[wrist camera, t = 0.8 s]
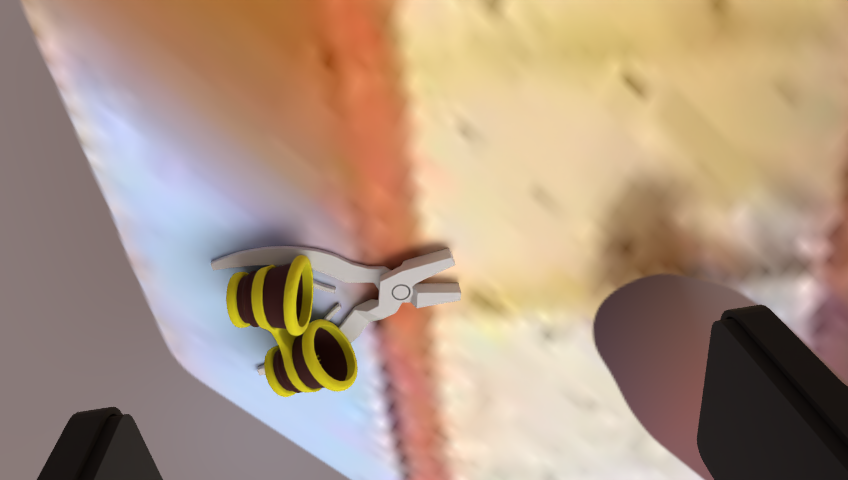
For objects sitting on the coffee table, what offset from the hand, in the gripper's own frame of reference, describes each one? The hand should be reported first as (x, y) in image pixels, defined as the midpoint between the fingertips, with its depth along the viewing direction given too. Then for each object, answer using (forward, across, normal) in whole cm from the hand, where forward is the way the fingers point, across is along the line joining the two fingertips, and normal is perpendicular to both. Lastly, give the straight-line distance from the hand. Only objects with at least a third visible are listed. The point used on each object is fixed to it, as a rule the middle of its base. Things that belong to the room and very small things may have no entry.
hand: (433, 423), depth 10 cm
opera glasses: (+28, +8, +16) cm, 33 cm away
